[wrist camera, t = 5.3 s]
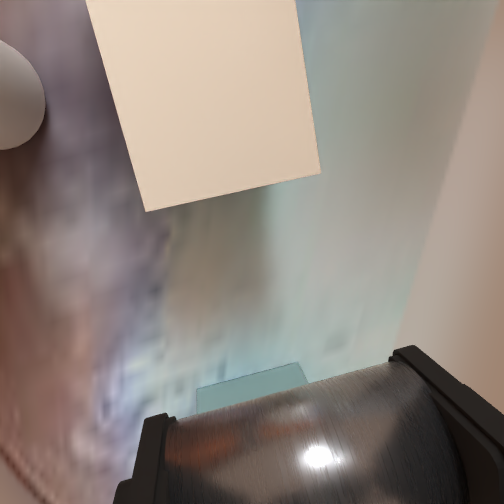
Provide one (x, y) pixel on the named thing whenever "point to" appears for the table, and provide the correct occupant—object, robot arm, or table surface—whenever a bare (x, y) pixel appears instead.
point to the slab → (207, 94)
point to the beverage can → (18, 98)
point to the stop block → (249, 387)
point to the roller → (321, 446)
